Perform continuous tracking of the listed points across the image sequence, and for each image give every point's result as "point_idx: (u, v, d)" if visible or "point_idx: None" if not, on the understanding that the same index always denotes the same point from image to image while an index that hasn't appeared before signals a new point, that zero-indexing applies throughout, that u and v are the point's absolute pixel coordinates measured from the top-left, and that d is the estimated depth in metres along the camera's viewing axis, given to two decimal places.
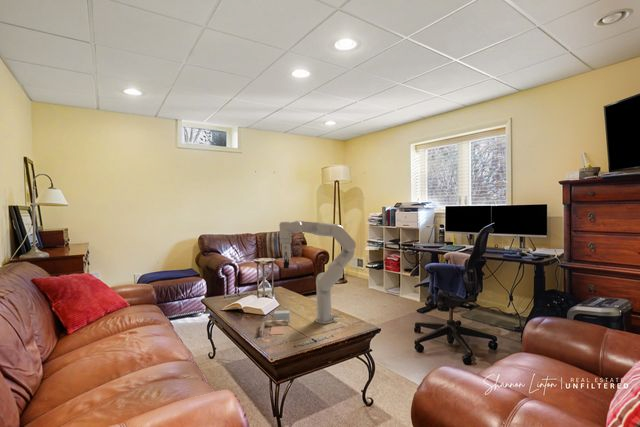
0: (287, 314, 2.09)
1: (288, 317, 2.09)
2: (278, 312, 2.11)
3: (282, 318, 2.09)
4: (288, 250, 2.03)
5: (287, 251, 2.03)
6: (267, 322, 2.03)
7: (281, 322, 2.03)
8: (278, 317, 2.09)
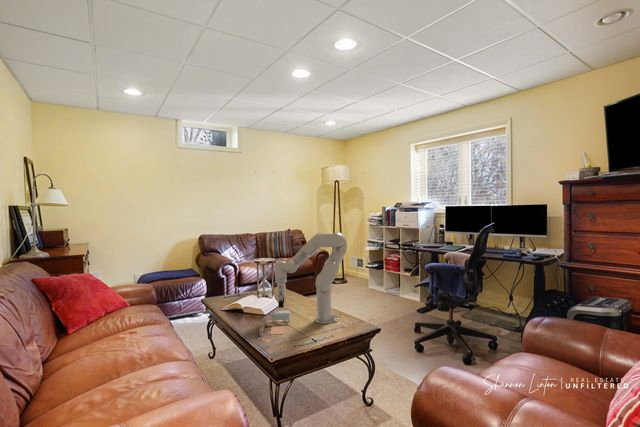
0: (287, 314, 2.09)
1: (288, 317, 2.09)
2: (278, 312, 2.11)
3: (282, 318, 2.09)
4: (283, 290, 2.06)
5: (282, 291, 2.06)
6: (267, 322, 2.03)
7: (281, 322, 2.03)
8: (278, 317, 2.09)
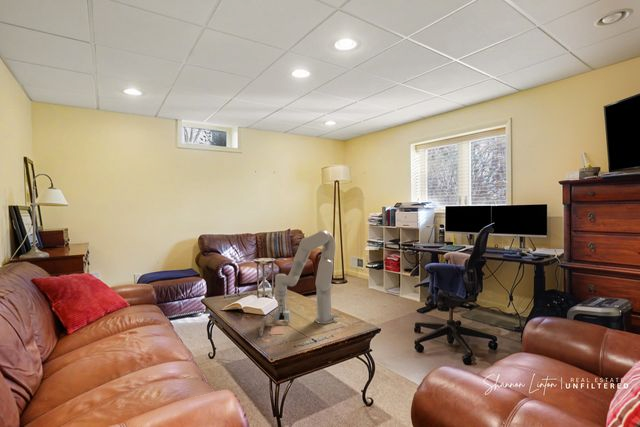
0: (287, 314, 2.09)
1: (288, 317, 2.09)
2: (278, 312, 2.11)
3: None
4: (283, 303, 2.06)
5: (282, 304, 2.06)
6: (267, 322, 2.03)
7: (281, 322, 2.03)
8: (278, 317, 2.09)
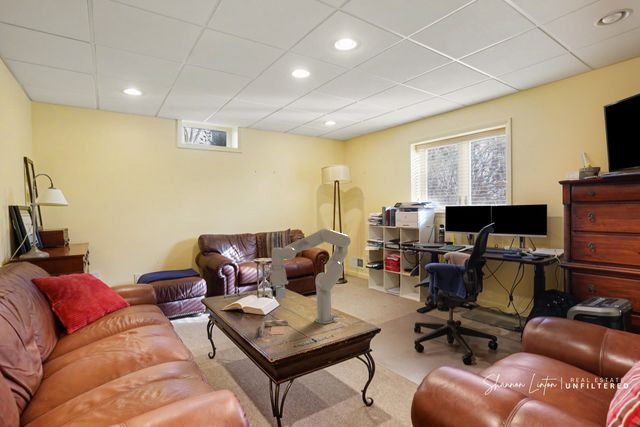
0: (277, 290, 1.98)
1: (277, 294, 1.98)
2: None
3: None
4: (272, 277, 1.98)
5: (271, 278, 1.99)
6: (267, 322, 2.03)
7: (281, 322, 2.03)
8: None
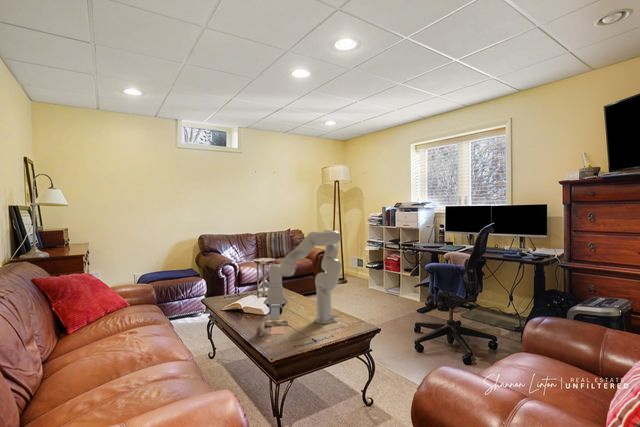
0: None
1: None
2: (275, 304, 1.97)
3: None
4: (267, 295, 1.93)
5: (267, 295, 1.93)
6: (267, 322, 2.03)
7: (281, 322, 2.03)
8: None
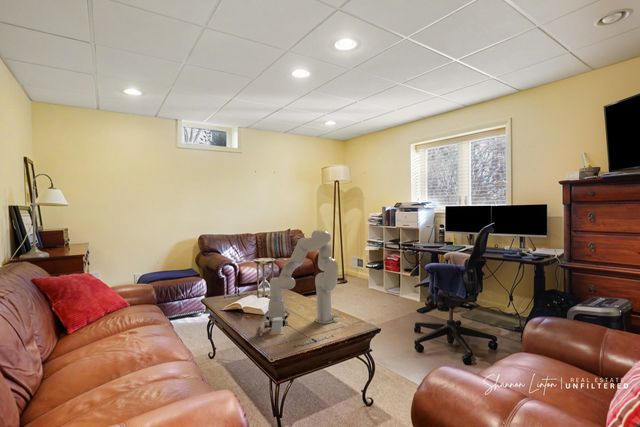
0: None
1: None
2: (276, 318, 1.98)
3: None
4: (268, 308, 1.93)
5: (268, 309, 1.94)
6: (267, 322, 2.03)
7: None
8: None
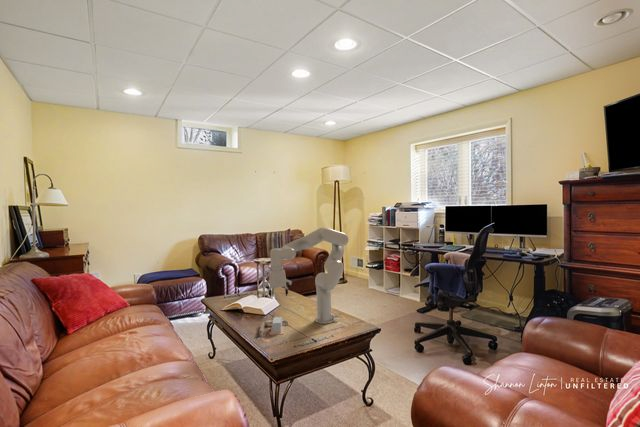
0: None
1: None
2: (276, 318, 1.98)
3: None
4: (269, 278, 1.95)
5: (269, 279, 1.95)
6: (267, 322, 2.03)
7: None
8: None
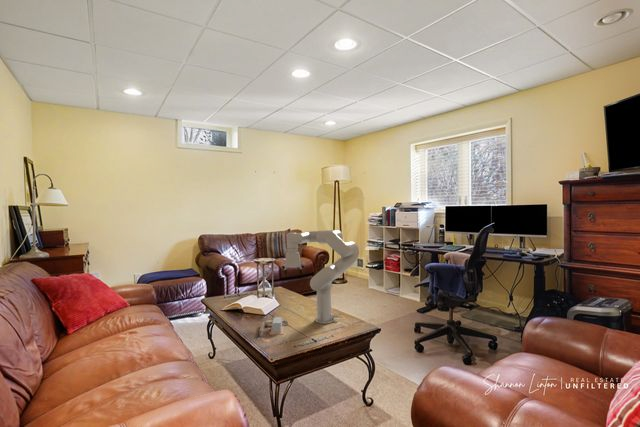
0: None
1: None
2: (276, 318, 1.98)
3: None
4: None
5: None
6: (267, 322, 2.03)
7: None
8: None
